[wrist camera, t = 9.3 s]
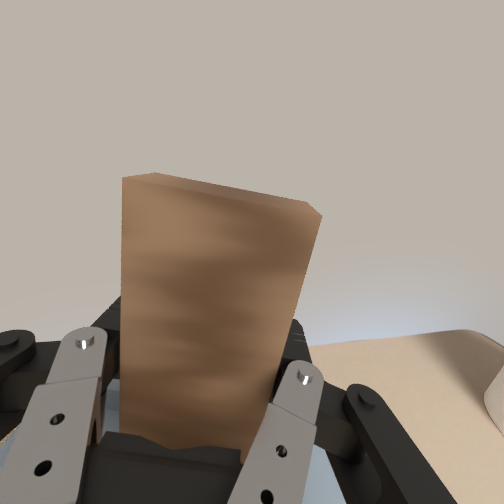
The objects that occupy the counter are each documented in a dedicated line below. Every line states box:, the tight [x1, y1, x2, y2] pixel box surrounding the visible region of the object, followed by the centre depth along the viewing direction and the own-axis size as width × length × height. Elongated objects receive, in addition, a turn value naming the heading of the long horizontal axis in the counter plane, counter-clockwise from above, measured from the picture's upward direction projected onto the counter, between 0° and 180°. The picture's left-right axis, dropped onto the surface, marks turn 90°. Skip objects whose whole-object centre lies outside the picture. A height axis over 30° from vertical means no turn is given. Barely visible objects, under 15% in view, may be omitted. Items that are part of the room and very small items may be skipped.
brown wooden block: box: [119, 173, 322, 464], centre depth 11 cm, size 6×6×14 cm
